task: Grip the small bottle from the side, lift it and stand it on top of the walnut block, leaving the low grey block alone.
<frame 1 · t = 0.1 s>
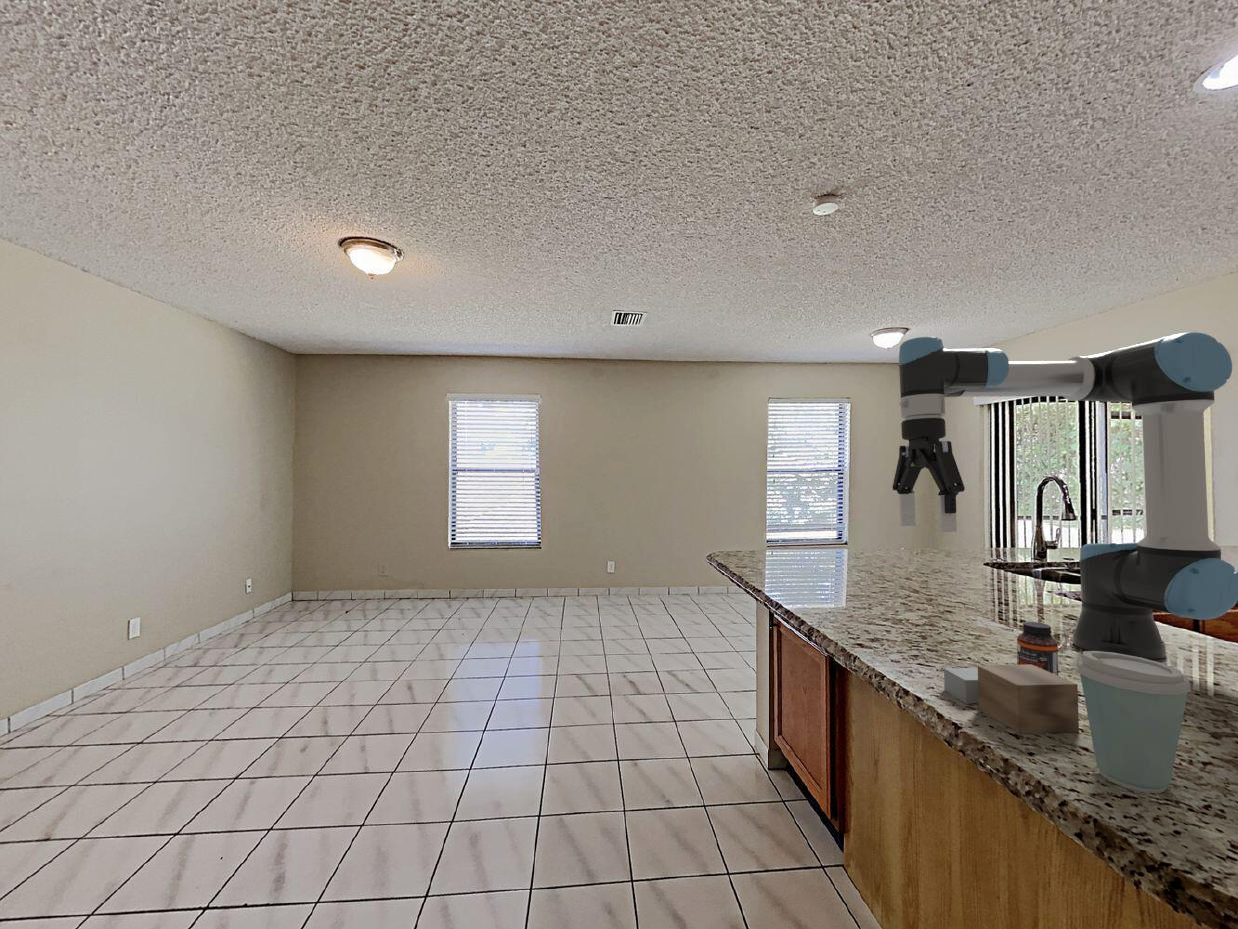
hand: (926, 528, 109), 28 cm above the table, tool pointing down, fingers open, 13 cm apart
disposable coffee cup: (1134, 783, 70), on the table
grey block: (972, 697, 98), on the table
walnut block: (1026, 720, 88), on the table
supplement bottle: (1038, 689, 101), on the table
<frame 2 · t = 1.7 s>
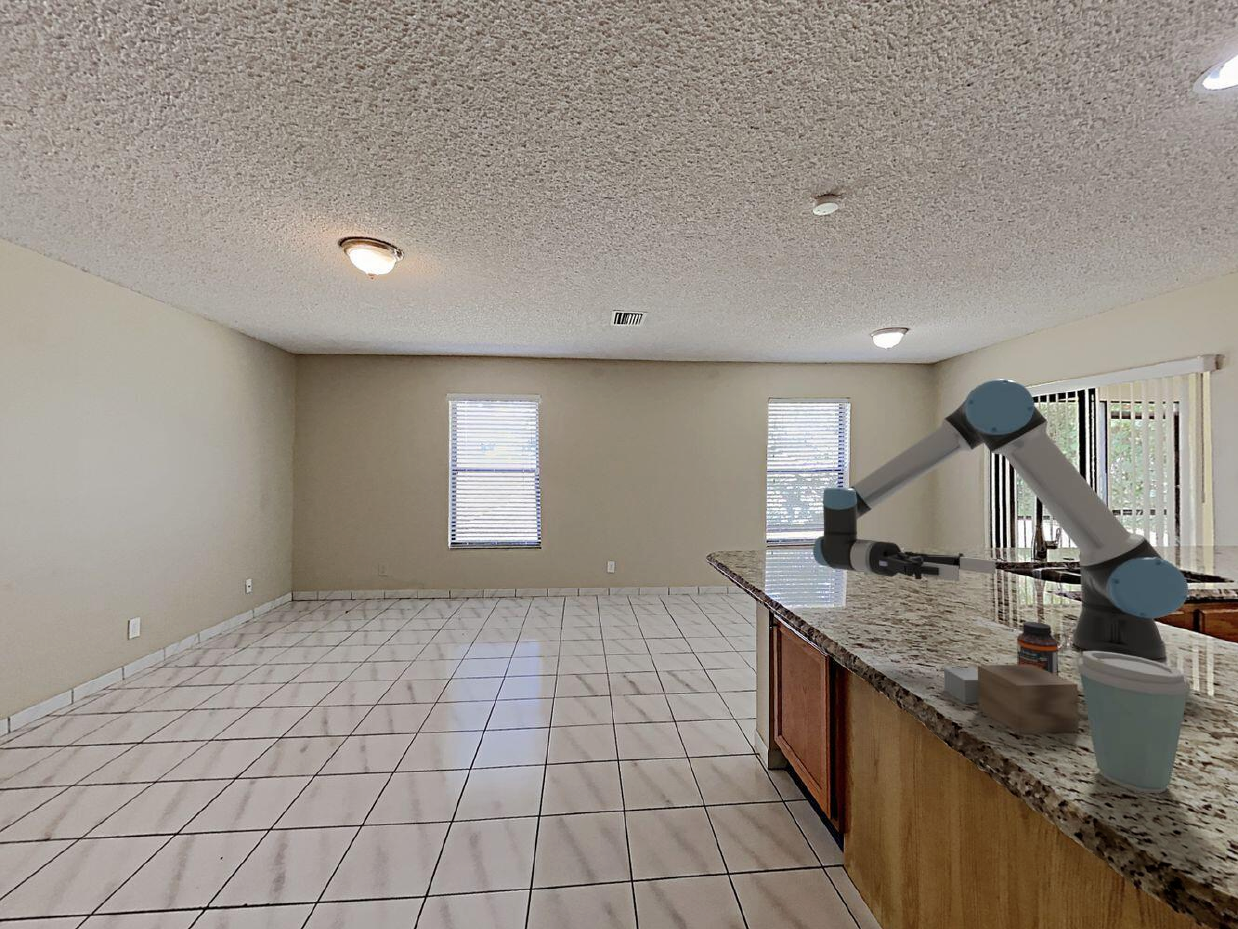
hand: (977, 570, 110), 20 cm above the table, tool horizontal, fingers open, 13 cm apart
nothing on the table moved.
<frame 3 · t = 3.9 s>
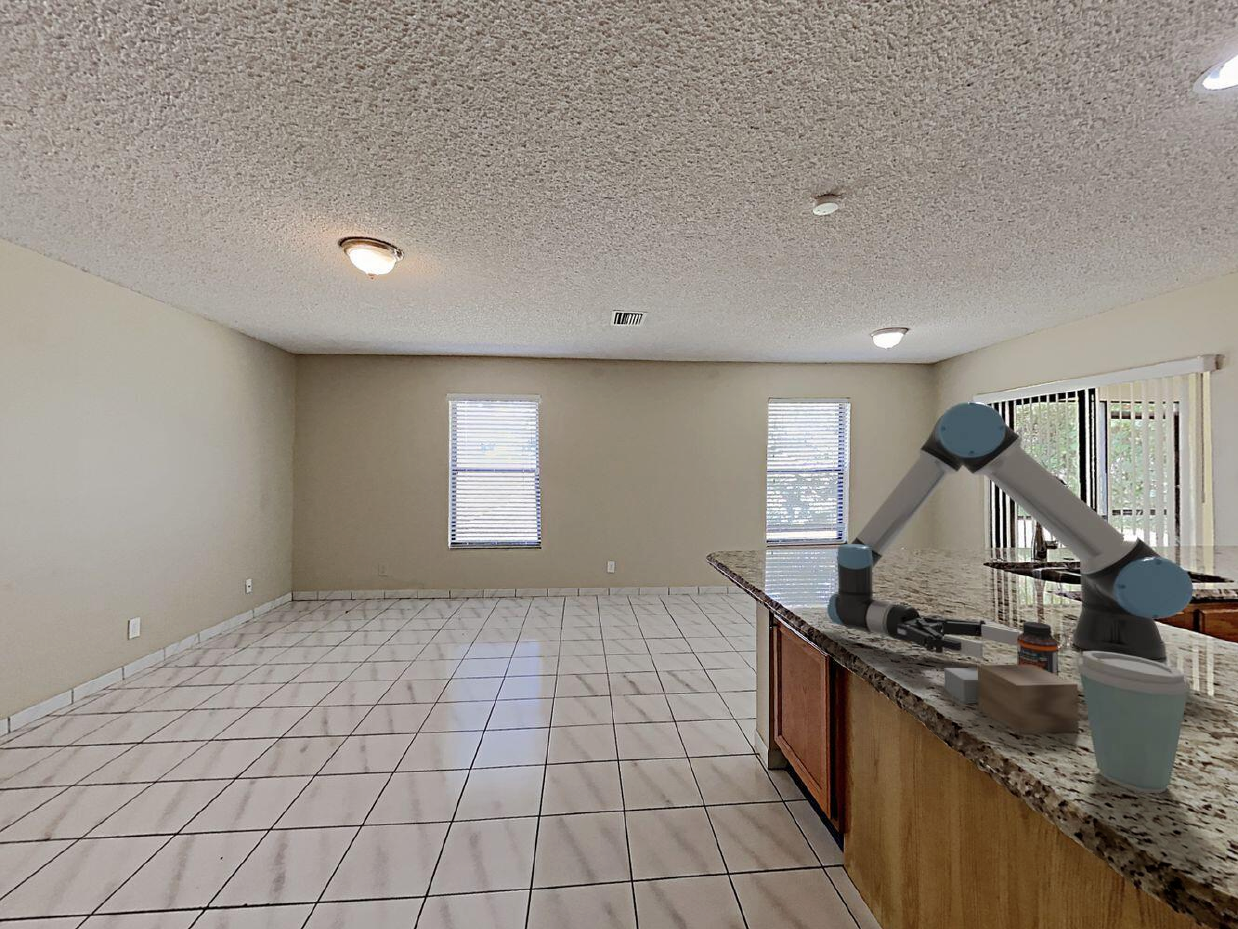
hand: (1000, 644, 106), 6 cm above the table, tool horizontal, fingers open, 13 cm apart
nothing on the table moved.
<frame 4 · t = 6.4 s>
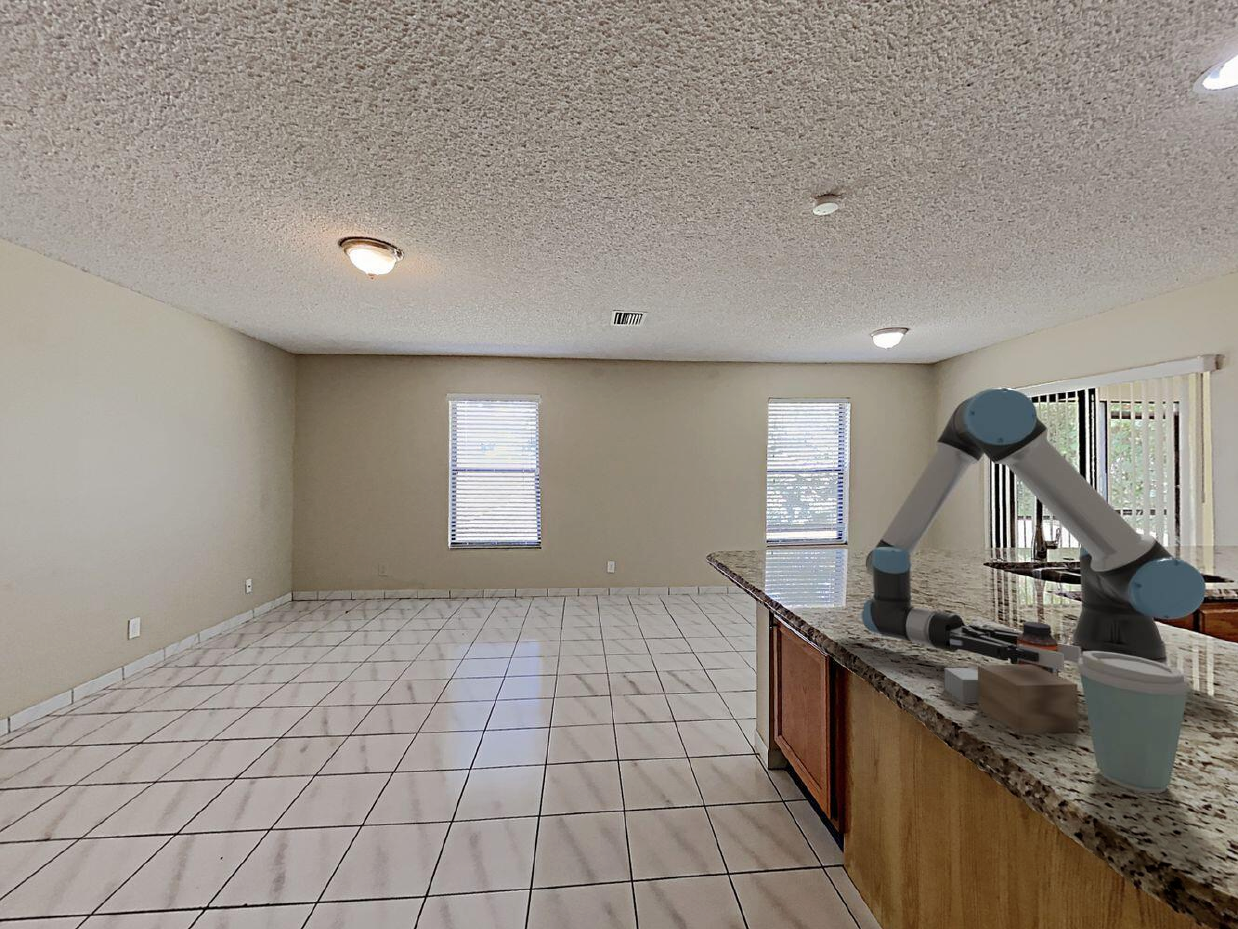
hand: (1071, 658, 97), 7 cm above the table, tool horizontal, fingers closed on supplement bottle, 6 cm apart
supplement bottle: (1038, 689, 101), on the table, touching gripper
everything else where it was.
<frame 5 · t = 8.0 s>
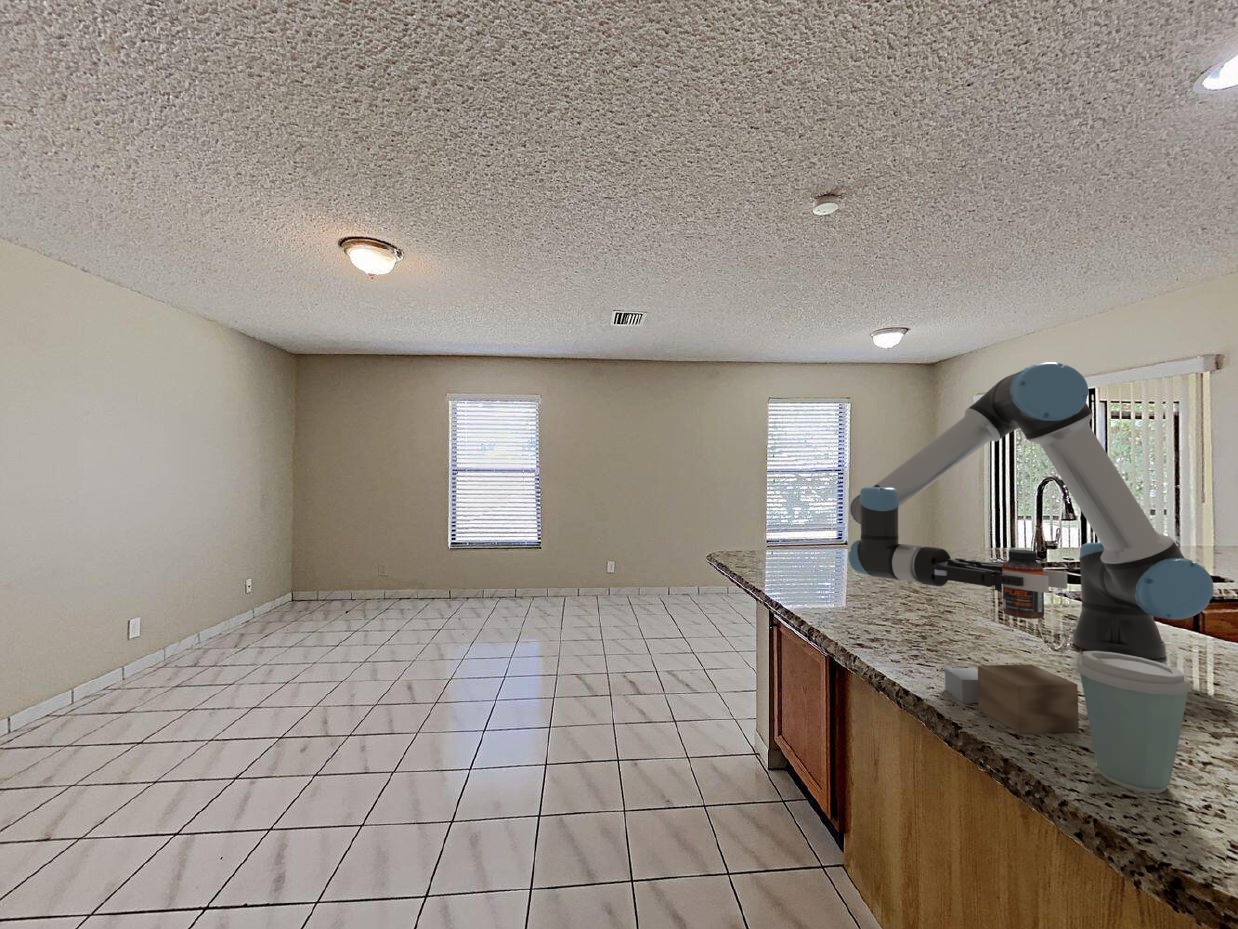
hand: (1056, 582, 95), 20 cm above the table, tool horizontal, fingers closed on supplement bottle, 6 cm apart
supplement bottle: (1023, 616, 99), point 13 cm above the table, touching gripper
everything else where it was.
when the fingers open (15 cm above the table, at t = 9.9 s): supplement bottle drops 1 cm, resting on walnut block.
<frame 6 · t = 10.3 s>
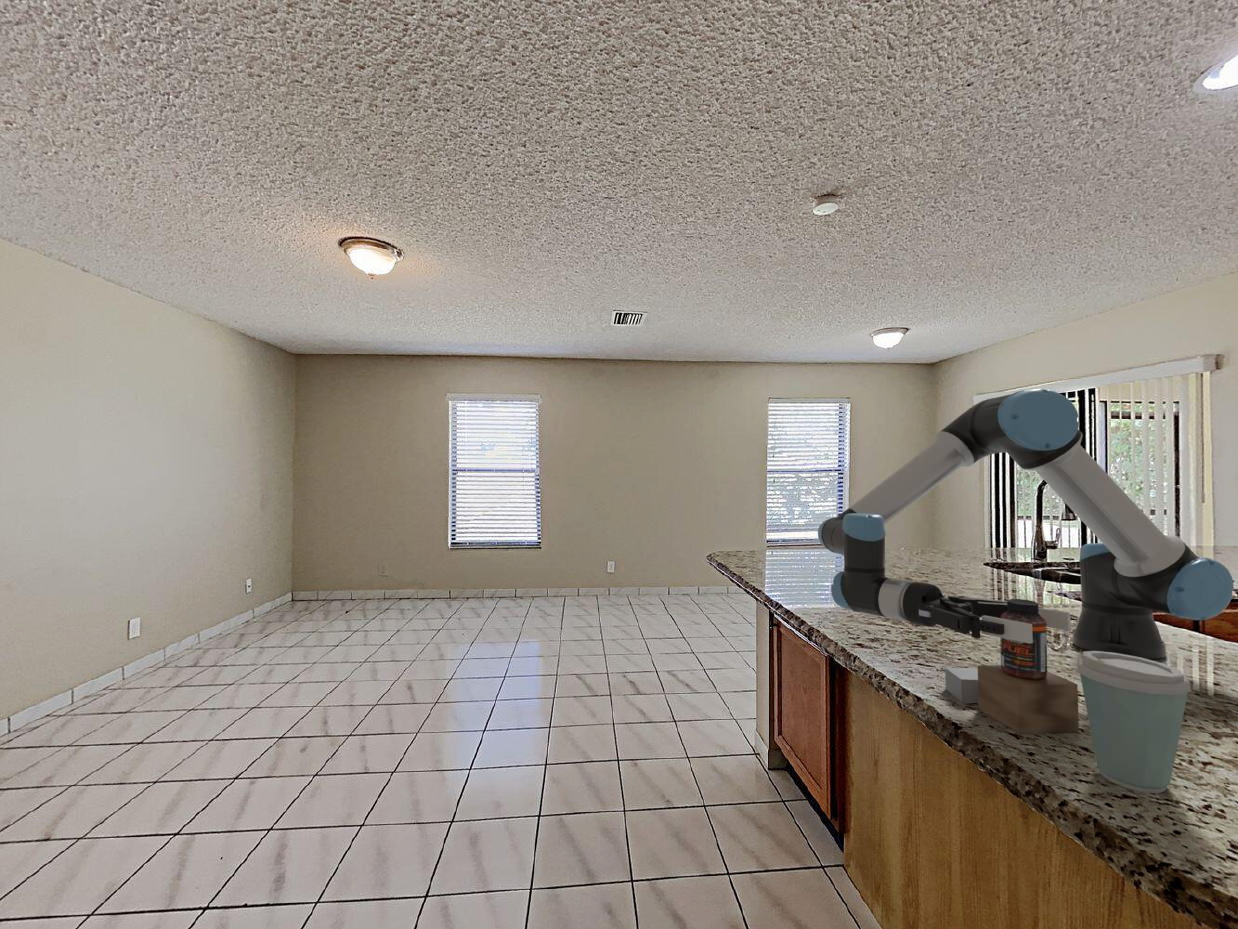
hand: (1051, 627, 85), 15 cm above the table, tool horizontal, fingers open, 12 cm apart
supplement bottle: (1023, 675, 88), point 7 cm above the table, touching walnut block
everything else where it was.
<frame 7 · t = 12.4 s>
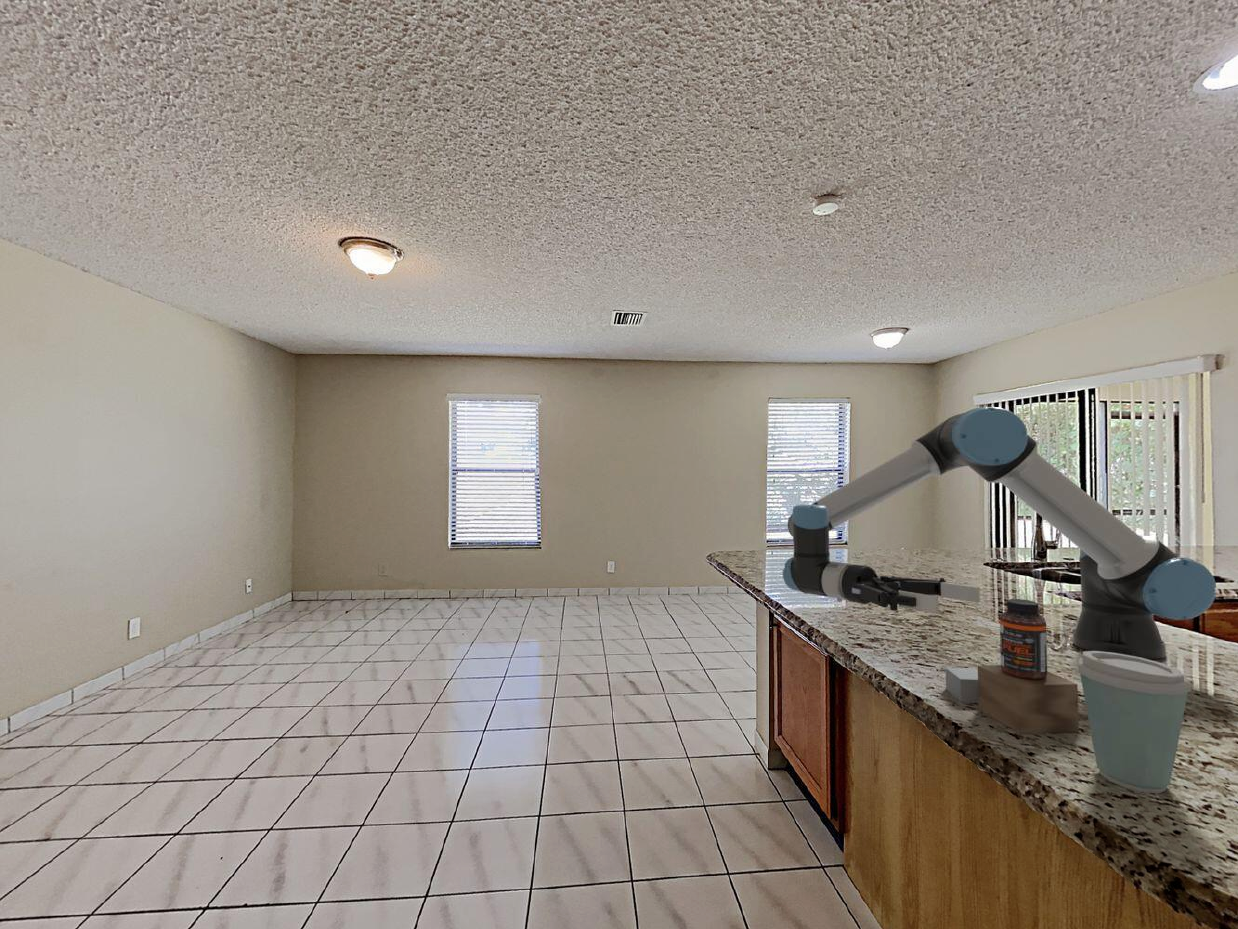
hand: (959, 599, 98), 17 cm above the table, tool horizontal, fingers open, 13 cm apart
nothing on the table moved.
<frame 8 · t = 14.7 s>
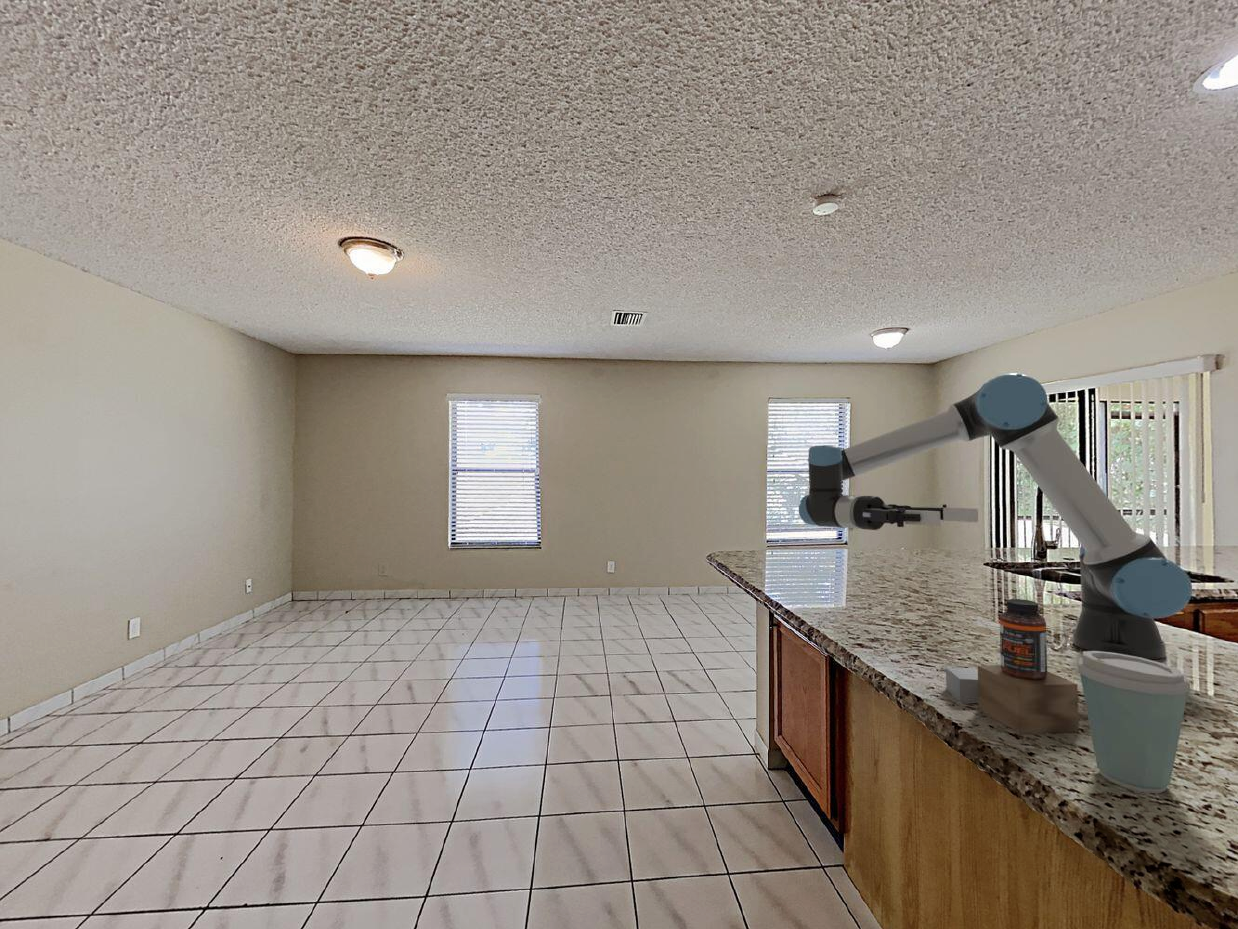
hand: (959, 517, 110), 30 cm above the table, tool horizontal, fingers open, 13 cm apart
nothing on the table moved.
at the end: supplement bottle inside the target area on the walnut block (0.2 cm from its centre), point 6.8 cm above the walnut block's base; supplement bottle tilted 0°; the gripper is holding nothing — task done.
